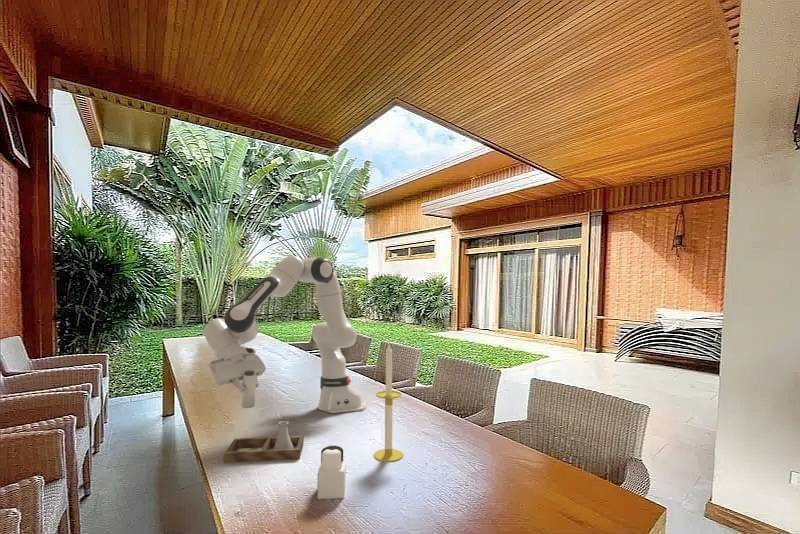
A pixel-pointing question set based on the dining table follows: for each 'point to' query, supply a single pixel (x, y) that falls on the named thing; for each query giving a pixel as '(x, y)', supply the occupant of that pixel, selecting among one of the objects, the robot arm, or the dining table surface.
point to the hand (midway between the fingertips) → (250, 388)
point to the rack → (261, 450)
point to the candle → (388, 415)
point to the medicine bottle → (331, 473)
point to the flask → (283, 437)
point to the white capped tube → (249, 389)
